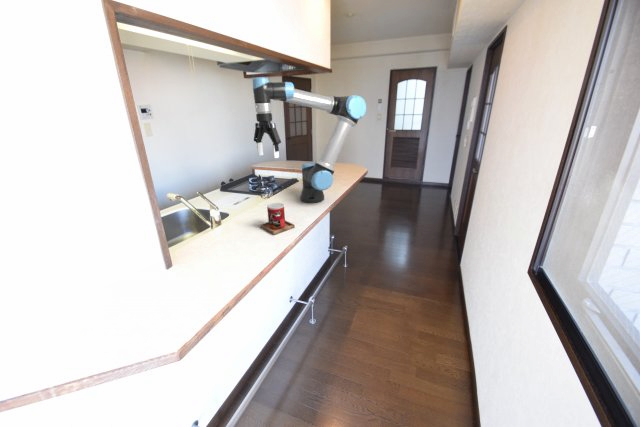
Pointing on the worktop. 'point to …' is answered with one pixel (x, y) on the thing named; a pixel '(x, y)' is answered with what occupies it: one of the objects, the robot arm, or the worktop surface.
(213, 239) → the worktop surface
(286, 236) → the worktop surface
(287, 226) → the coaster board
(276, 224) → the canned food
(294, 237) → the worktop surface
